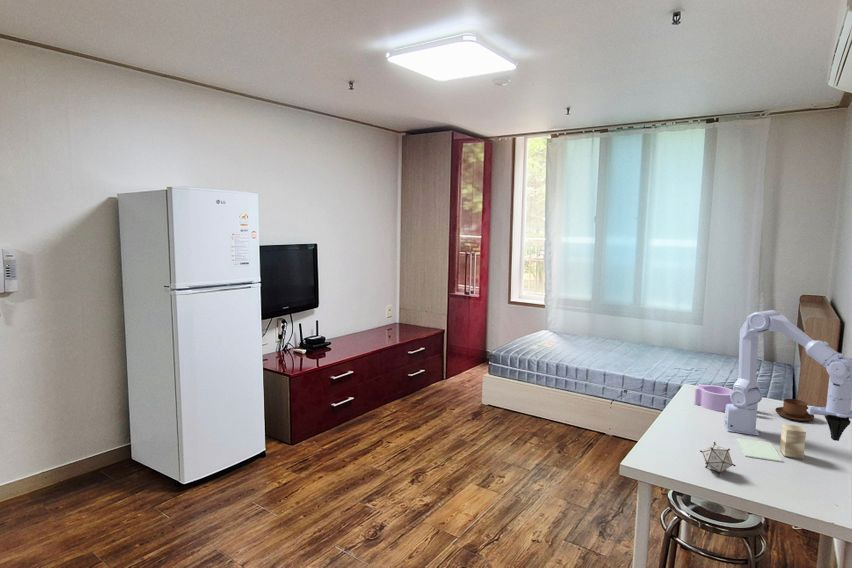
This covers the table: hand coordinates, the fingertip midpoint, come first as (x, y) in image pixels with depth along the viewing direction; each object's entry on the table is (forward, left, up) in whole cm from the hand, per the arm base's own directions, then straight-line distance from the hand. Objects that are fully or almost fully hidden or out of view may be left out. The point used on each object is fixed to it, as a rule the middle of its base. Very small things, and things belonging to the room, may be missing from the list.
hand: (834, 439), depth 154 cm
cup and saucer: (0, +39, -7) cm, 40 cm away
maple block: (-11, 0, -7) cm, 13 cm away
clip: (-23, +40, -7) cm, 47 cm away
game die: (-35, -21, -7) cm, 41 cm away
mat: (-20, 0, -7) cm, 21 cm away
